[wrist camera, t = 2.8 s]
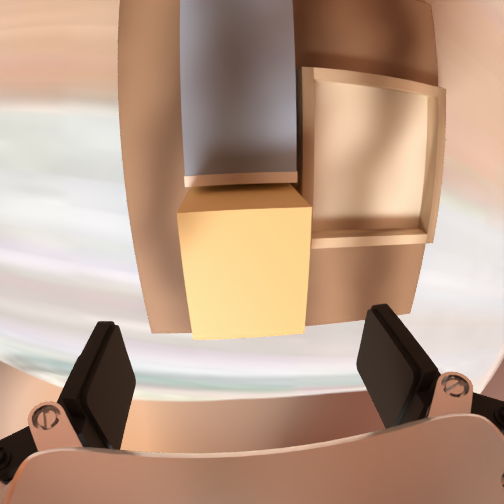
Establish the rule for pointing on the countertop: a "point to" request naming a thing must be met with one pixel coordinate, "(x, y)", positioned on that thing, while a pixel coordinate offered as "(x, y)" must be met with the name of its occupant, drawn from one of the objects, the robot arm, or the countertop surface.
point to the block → (245, 259)
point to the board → (164, 156)
